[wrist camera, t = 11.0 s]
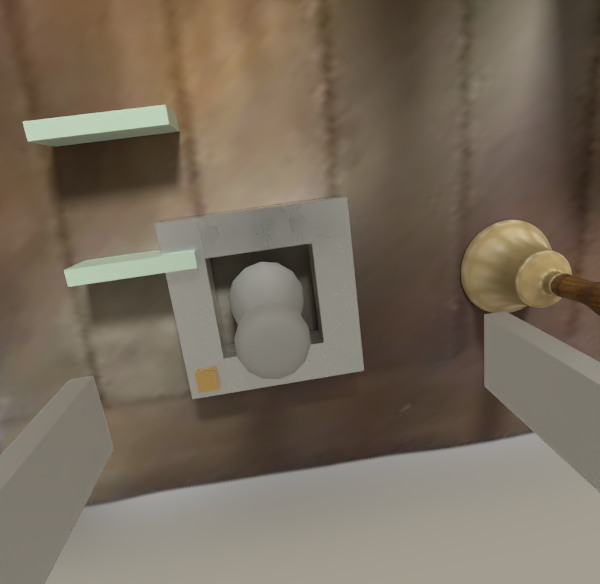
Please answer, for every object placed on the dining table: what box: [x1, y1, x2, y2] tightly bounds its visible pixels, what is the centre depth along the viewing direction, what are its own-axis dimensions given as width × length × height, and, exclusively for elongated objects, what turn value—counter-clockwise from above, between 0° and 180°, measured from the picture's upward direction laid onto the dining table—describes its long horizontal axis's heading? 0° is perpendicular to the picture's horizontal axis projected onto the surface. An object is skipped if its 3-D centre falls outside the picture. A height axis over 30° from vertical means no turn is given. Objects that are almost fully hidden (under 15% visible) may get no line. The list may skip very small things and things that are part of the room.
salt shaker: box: [229, 262, 311, 379], centre depth 29 cm, size 6×6×13 cm
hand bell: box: [461, 220, 600, 316], centre depth 30 cm, size 8×8×16 cm
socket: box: [155, 196, 364, 399], centre depth 34 cm, size 14×14×4 cm
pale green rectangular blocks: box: [23, 105, 199, 287], centre depth 31 cm, size 11×9×4 cm
